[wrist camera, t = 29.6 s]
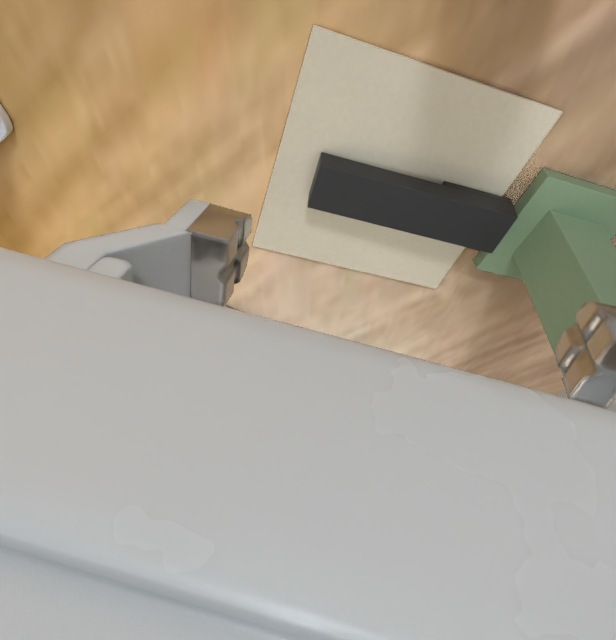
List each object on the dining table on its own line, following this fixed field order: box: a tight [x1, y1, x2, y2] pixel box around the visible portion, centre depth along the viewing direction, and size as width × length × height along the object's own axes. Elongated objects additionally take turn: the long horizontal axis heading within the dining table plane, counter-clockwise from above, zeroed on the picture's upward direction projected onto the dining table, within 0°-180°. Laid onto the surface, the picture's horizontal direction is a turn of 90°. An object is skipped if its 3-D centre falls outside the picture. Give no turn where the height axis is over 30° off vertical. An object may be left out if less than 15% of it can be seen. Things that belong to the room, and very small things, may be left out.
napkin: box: [252, 24, 563, 289], centre depth 45 cm, size 22×22×1 cm
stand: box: [473, 168, 616, 375], centre depth 41 cm, size 11×12×26 cm
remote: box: [307, 152, 518, 254], centre depth 45 cm, size 19×5×3 cm, turn 76°
